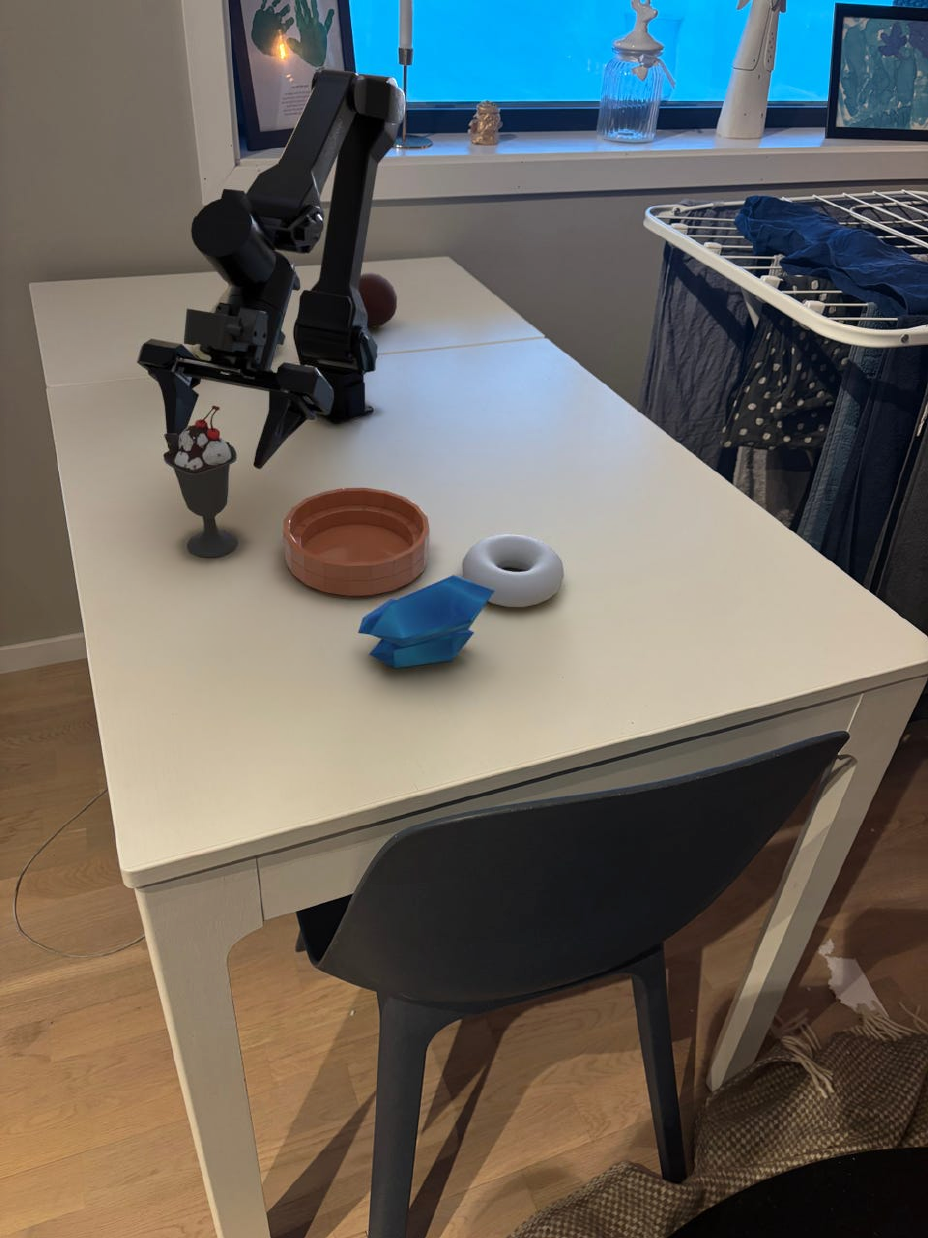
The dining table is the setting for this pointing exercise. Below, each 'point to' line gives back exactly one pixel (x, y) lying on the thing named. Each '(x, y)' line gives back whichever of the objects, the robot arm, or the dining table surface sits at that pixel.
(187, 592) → the dining table surface
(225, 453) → the sundae
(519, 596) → the donut
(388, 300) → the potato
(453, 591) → the crystal
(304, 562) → the bowl
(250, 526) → the dining table surface
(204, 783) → the dining table surface
